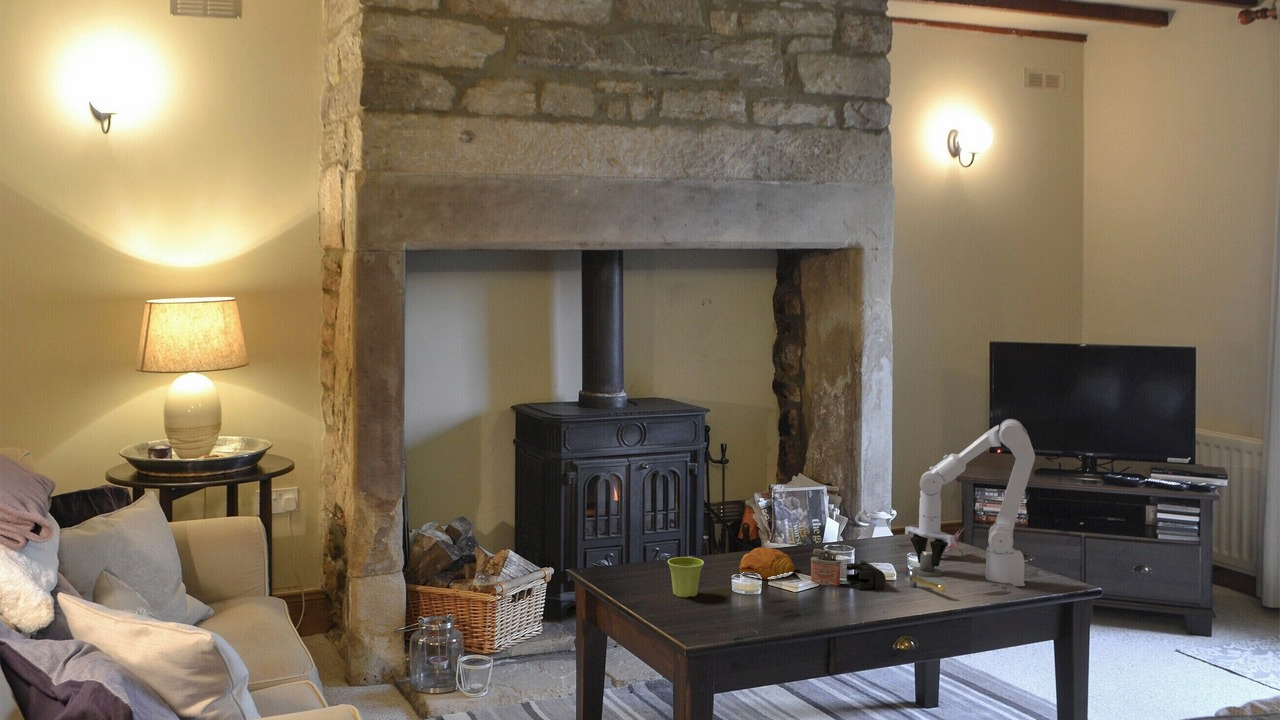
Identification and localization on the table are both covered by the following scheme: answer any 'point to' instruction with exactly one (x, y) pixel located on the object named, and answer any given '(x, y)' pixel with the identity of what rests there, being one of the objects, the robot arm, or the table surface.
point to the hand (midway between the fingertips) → (928, 564)
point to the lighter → (825, 568)
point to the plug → (927, 566)
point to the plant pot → (685, 575)
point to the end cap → (866, 576)
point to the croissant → (766, 562)
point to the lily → (954, 544)
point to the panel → (933, 580)
